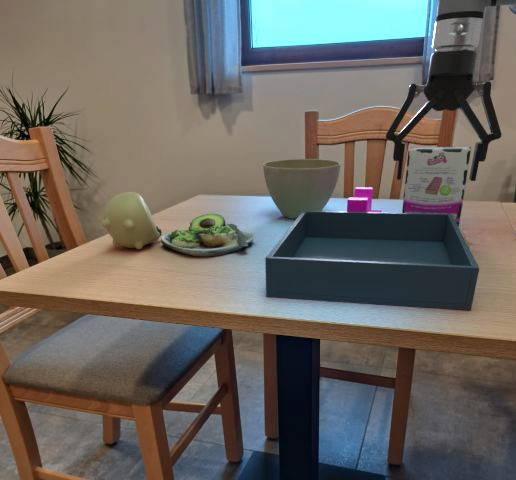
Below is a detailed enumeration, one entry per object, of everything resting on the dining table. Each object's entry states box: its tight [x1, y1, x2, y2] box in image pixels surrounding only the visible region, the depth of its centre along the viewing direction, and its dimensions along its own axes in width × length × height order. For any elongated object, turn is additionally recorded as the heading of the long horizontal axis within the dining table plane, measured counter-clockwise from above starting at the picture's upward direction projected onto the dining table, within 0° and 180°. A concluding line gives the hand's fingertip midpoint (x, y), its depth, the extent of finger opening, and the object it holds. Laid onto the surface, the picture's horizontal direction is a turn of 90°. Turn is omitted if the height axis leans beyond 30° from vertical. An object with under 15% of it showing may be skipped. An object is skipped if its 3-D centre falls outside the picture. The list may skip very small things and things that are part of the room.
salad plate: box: [160, 213, 255, 257], centre depth 91 cm, size 19×18×5 cm
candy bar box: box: [401, 146, 472, 228], centre depth 91 cm, size 11×5×16 cm, turn 67°
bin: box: [264, 210, 480, 311], centre depth 76 cm, size 28×32×6 cm
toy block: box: [346, 186, 382, 213], centre depth 98 cm, size 15×6×8 cm, turn 163°
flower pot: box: [262, 158, 341, 220], centre depth 111 cm, size 18×18×12 cm
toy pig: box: [101, 191, 163, 250], centre depth 91 cm, size 10×12×11 cm
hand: (434, 179), depth 90 cm, fingers open, 13 cm apart
